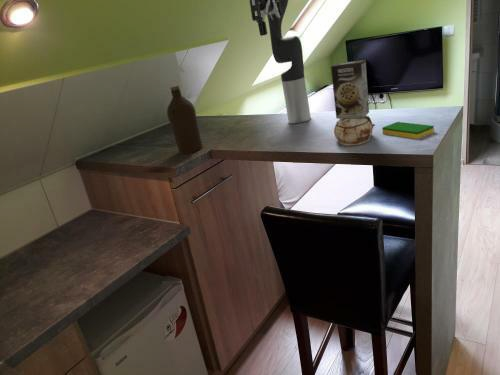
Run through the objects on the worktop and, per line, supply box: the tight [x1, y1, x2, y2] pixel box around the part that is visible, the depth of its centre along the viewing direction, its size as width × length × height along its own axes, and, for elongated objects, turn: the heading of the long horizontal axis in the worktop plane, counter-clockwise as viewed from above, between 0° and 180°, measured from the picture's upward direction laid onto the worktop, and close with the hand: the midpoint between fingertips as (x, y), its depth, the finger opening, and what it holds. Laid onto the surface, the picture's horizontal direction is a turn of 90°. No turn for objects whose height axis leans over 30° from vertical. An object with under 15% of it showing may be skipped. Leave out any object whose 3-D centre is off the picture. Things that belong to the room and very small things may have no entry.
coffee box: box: [330, 59, 370, 120], centre depth 119 cm, size 9×6×16 cm
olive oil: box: [166, 85, 204, 155], centre depth 150 cm, size 11×11×25 cm
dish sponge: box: [381, 121, 435, 140], centre depth 120 cm, size 7×14×2 cm, turn 28°
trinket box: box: [333, 115, 376, 147], centre depth 124 cm, size 13×15×8 cm
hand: (270, 33), depth 121 cm, fingers open, 8 cm apart
